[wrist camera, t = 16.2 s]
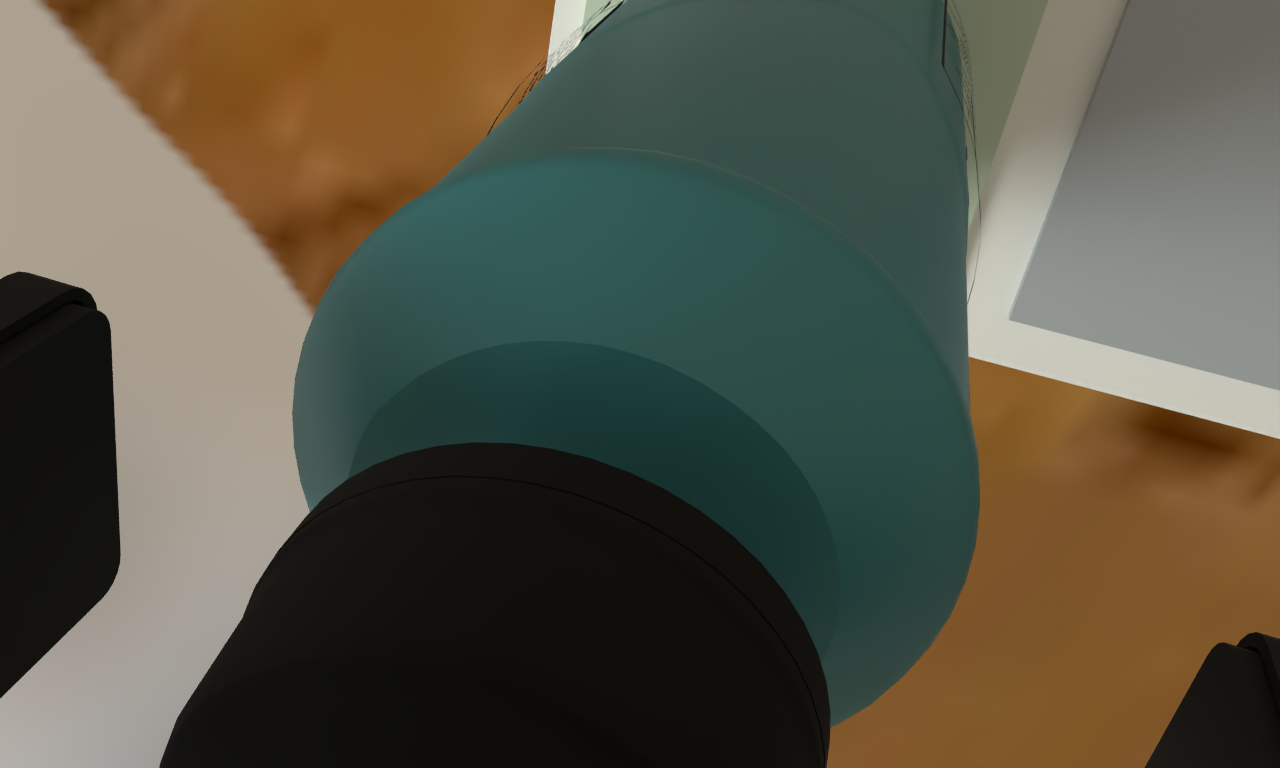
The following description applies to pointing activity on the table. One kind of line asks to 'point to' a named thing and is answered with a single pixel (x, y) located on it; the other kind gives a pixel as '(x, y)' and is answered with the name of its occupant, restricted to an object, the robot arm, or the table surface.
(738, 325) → the beverage bottle
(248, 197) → the table surface
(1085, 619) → the table surface
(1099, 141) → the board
